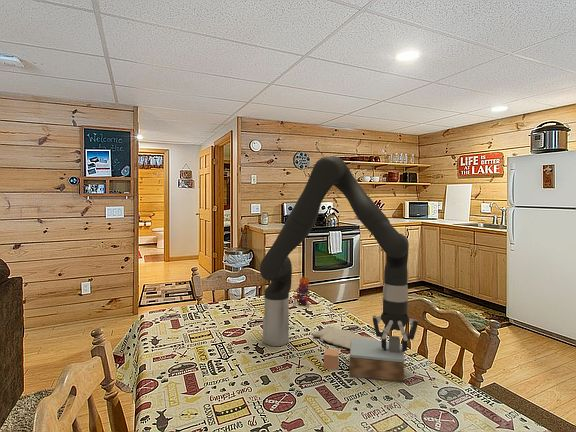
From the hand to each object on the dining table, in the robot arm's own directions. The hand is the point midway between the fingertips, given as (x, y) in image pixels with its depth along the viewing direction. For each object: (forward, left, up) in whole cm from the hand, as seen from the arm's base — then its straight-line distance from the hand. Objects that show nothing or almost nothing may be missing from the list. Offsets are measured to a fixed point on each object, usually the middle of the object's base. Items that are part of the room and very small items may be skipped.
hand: (394, 350), depth 110 cm
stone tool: (-15, +19, -8) cm, 26 cm away
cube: (-20, 0, -7) cm, 21 cm away
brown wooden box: (-6, 0, -7) cm, 9 cm away
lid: (-5, 0, -1) cm, 6 cm away
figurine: (-40, +58, -7) cm, 70 cm away
